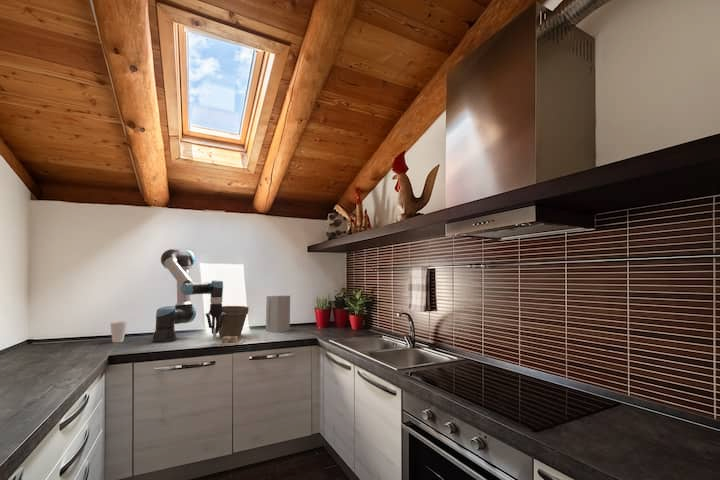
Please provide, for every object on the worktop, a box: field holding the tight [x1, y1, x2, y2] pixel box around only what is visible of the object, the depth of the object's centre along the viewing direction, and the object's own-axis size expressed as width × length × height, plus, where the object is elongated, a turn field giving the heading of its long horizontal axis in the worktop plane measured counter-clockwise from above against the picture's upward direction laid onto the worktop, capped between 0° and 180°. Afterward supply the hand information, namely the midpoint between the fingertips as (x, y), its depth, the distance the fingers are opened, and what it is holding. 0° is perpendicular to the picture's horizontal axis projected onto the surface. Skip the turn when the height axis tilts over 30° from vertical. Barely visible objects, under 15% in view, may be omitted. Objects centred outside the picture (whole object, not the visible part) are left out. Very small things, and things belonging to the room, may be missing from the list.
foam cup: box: [110, 320, 128, 343], centre depth 254 cm, size 10×9×13 cm
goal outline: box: [219, 339, 246, 346], centre depth 248 cm, size 14×13×1 cm
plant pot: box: [215, 305, 249, 339], centre depth 274 cm, size 25×25×22 cm
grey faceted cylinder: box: [265, 295, 291, 334], centre depth 299 cm, size 19×15×28 cm
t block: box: [221, 336, 239, 343], centre depth 248 cm, size 9×8×4 cm
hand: (214, 338), depth 248 cm, fingers closed
